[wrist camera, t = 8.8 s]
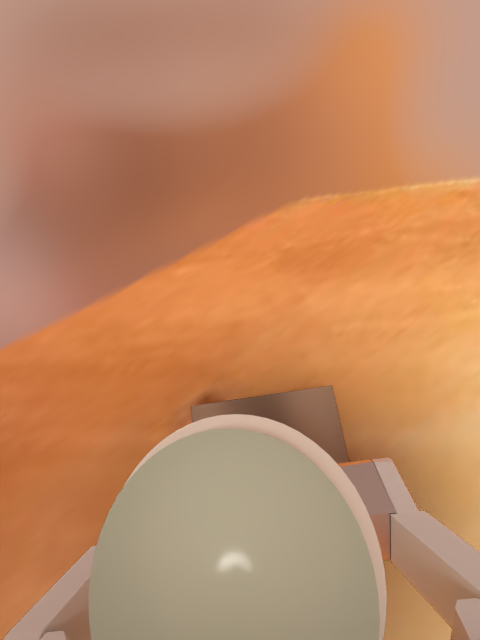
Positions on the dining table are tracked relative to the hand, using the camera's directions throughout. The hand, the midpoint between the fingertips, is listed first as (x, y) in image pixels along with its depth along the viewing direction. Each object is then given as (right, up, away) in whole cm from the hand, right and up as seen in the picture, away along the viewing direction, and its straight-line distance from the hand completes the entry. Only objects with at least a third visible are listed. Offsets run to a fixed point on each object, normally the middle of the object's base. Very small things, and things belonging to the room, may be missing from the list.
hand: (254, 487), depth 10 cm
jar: (+1, -2, +4) cm, 5 cm away
